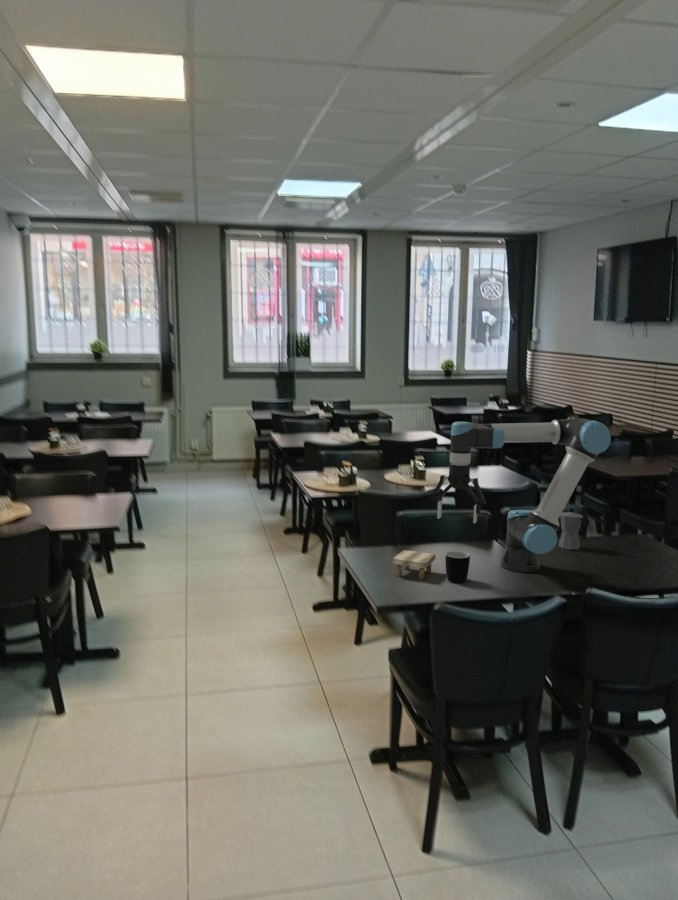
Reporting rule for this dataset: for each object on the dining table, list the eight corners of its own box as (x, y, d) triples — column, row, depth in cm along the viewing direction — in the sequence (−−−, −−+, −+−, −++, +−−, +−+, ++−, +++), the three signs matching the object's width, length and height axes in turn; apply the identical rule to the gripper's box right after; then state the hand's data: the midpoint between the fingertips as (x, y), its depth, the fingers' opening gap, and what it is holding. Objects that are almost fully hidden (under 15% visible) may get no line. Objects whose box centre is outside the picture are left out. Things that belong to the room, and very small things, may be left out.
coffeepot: (550, 546, 313) (552, 506, 311) (562, 543, 319) (565, 504, 316) (580, 554, 301) (583, 513, 298) (593, 551, 307) (596, 510, 304)
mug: (472, 584, 261) (473, 557, 259) (449, 585, 259) (450, 558, 258) (461, 573, 273) (462, 548, 271) (438, 574, 271) (439, 549, 269)
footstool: (434, 571, 275) (435, 554, 274) (425, 581, 263) (425, 563, 262) (403, 567, 280) (403, 549, 279) (392, 576, 268) (392, 558, 267)
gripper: (495, 465, 258) (492, 522, 261) (430, 459, 268) (427, 514, 271) (491, 468, 251) (488, 526, 254) (424, 462, 261) (421, 518, 264)
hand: (456, 520), depth 263 cm, fingers open, 13 cm apart
